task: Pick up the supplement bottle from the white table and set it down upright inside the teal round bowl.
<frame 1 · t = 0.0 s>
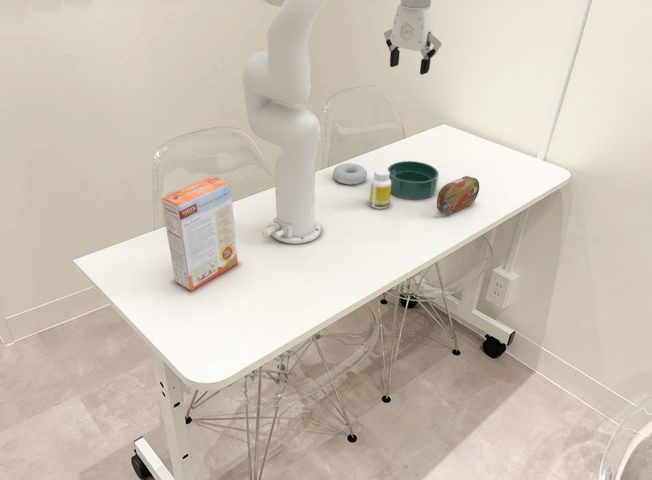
hand: (408, 69, 158), 31 cm above the table, tool pointing down, fingers open, 9 cm apart
teal round bowl: (410, 189, 168), on the table
cracker box: (206, 274, 131), on the table
tin: (455, 209, 159), on the table
donut: (349, 179, 173), on the table
supplement bottle: (379, 205, 160), on the table
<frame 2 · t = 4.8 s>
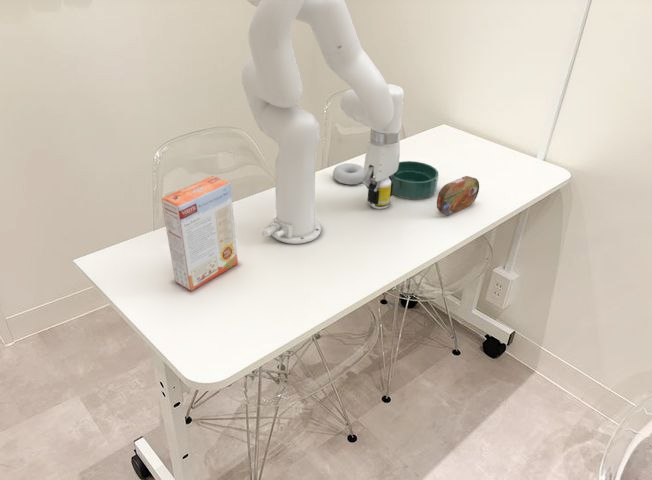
hand: (379, 198, 159), 2 cm above the table, tool pointing down, fingers closed on supplement bottle, 5 cm apart
supplement bottle: (379, 205, 160), on the table, touching gripper
everything else where it was.
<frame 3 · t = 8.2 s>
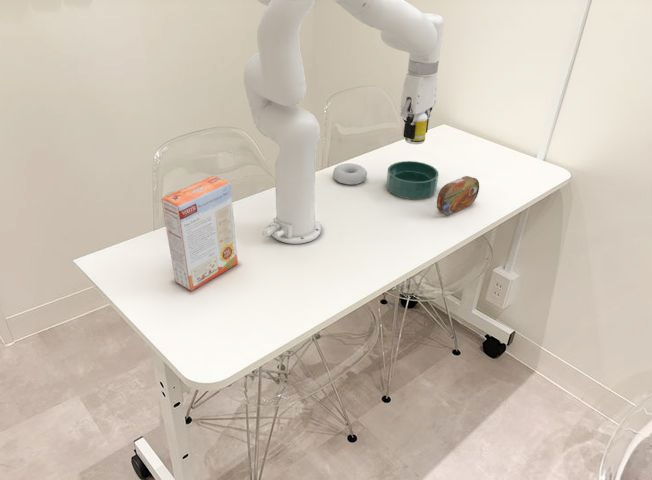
hand: (415, 134, 158), 17 cm above the table, tool pointing down, fingers closed on supplement bottle, 5 cm apart
supplement bottle: (414, 141, 159), point 15 cm above the table, touching gripper
everything else where it was.
when the fingers open (3 cm above the table, at t = 11.9 s): supplement bottle stays where it is, resting on teal round bowl.
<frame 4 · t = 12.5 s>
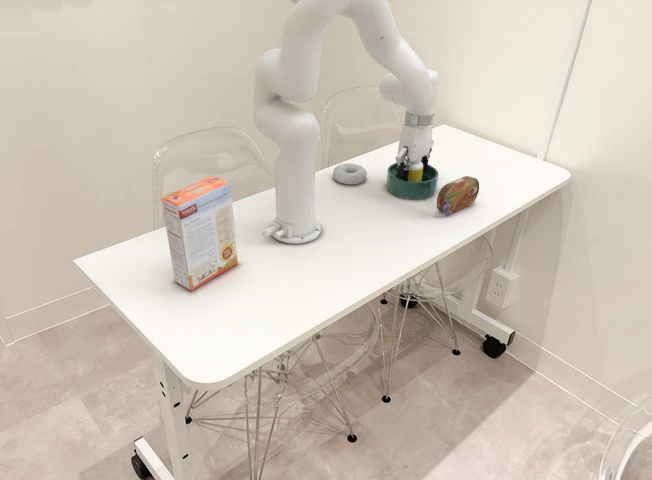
hand: (412, 176, 166), 4 cm above the table, tool pointing down, fingers open, 9 cm apart
supplement bottle: (410, 187, 168), resting on teal round bowl
everything else where it was.
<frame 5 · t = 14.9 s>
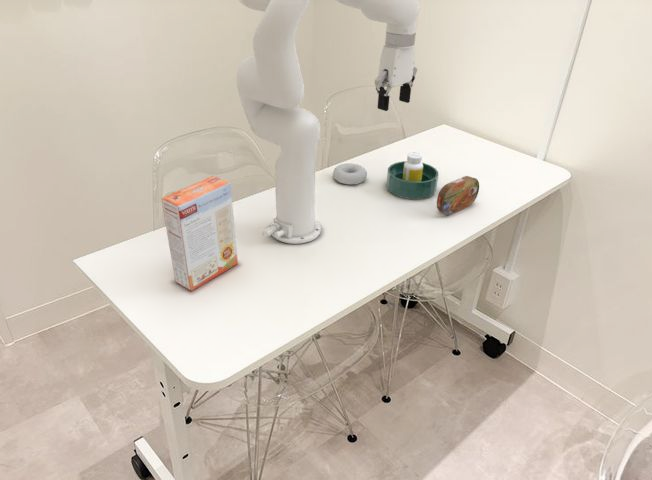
hand: (393, 105, 158), 23 cm above the table, tool pointing down, fingers open, 9 cm apart
nothing on the table moved.
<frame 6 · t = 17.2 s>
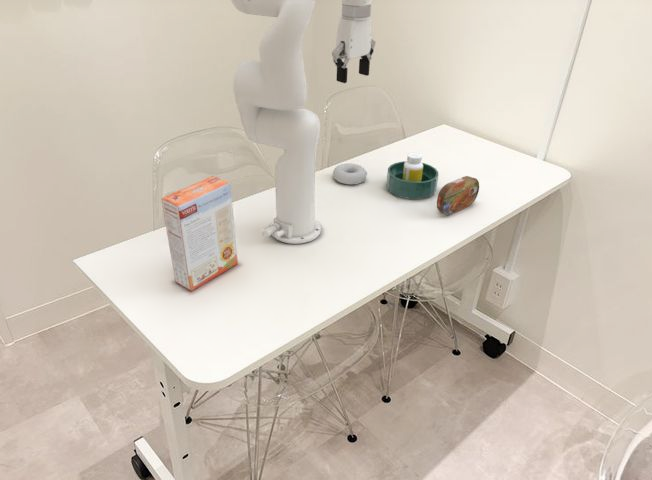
hand: (352, 78, 160), 28 cm above the table, tool pointing down, fingers open, 9 cm apart
nothing on the table moved.
at the end: supplement bottle inside the target area in the teal round bowl (0.1 cm from its centre), point 0.4 cm above the teal round bowl's base; supplement bottle tilted 0°; the gripper is holding nothing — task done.
